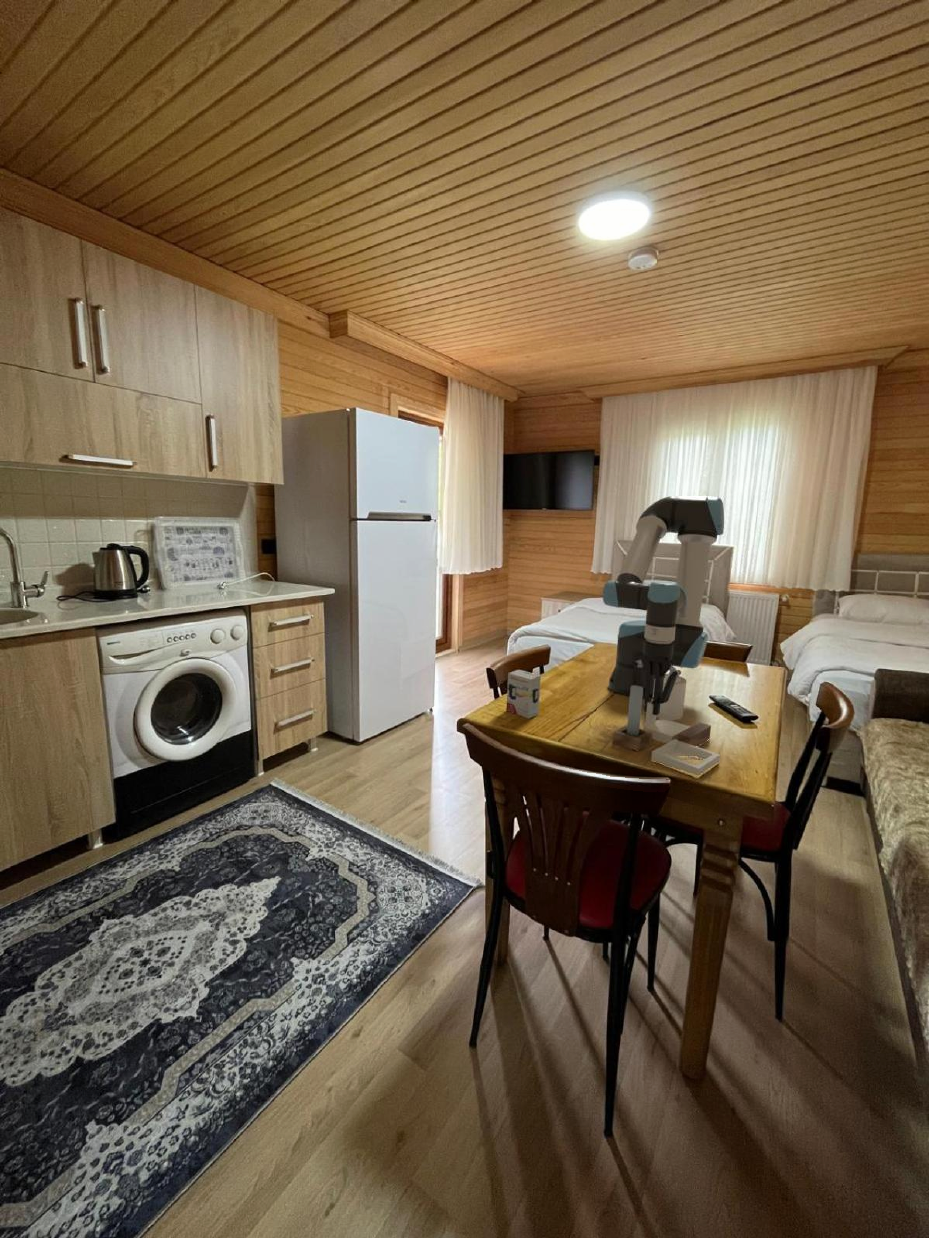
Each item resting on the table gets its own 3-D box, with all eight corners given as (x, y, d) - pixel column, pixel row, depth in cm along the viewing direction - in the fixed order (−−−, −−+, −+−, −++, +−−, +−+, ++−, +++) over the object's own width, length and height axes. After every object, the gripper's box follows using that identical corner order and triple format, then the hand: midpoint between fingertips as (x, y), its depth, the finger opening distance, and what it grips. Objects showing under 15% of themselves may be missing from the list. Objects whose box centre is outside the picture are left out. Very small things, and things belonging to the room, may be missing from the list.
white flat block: (642, 737, 142) (643, 726, 142) (661, 727, 149) (662, 717, 148) (671, 747, 136) (672, 736, 136) (689, 737, 143) (690, 726, 142)
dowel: (623, 742, 137) (628, 687, 134) (629, 739, 139) (634, 684, 136) (633, 746, 135) (639, 690, 132) (640, 743, 137) (645, 687, 134)
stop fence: (676, 748, 134) (678, 733, 134) (698, 736, 142) (699, 722, 142) (688, 752, 132) (690, 737, 131) (709, 739, 140) (711, 725, 139)
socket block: (612, 742, 137) (613, 731, 137) (626, 735, 142) (627, 724, 141) (637, 751, 132) (638, 740, 131) (651, 744, 137) (652, 733, 136)
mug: (682, 726, 149) (686, 689, 147) (644, 720, 153) (647, 684, 151) (682, 710, 162) (686, 676, 160) (647, 704, 165) (650, 671, 163)
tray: (651, 761, 127) (652, 751, 127) (673, 748, 135) (674, 739, 134) (697, 779, 119) (698, 768, 119) (718, 764, 127) (720, 754, 126)
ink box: (505, 710, 157) (507, 672, 155) (515, 706, 161) (517, 669, 158) (529, 718, 151) (531, 679, 149) (539, 714, 155) (541, 675, 153)
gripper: (629, 637, 143) (621, 720, 148) (675, 647, 134) (666, 735, 139) (643, 634, 148) (635, 714, 153) (689, 643, 139) (679, 728, 144)
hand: (650, 724), depth 146 cm, fingers closed
